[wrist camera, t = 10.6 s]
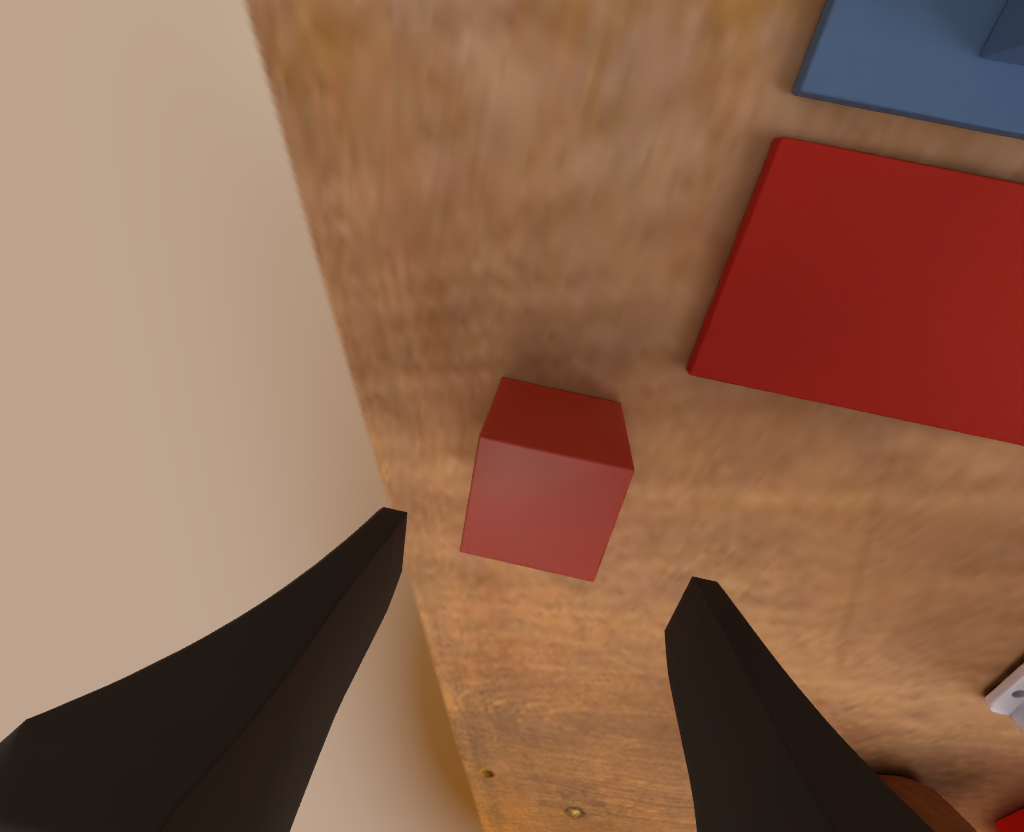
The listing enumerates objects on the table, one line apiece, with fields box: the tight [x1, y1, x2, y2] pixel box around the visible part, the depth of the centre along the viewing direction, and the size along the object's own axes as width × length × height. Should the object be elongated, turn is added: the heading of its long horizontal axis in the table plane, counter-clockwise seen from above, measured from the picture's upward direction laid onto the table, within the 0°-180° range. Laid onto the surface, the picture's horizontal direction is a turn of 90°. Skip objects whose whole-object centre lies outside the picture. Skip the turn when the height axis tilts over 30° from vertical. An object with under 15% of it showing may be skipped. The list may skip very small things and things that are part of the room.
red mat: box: [686, 137, 1024, 446], centre depth 14 cm, size 7×12×1 cm, turn 80°
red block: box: [460, 378, 634, 582], centre depth 16 cm, size 4×4×4 cm
